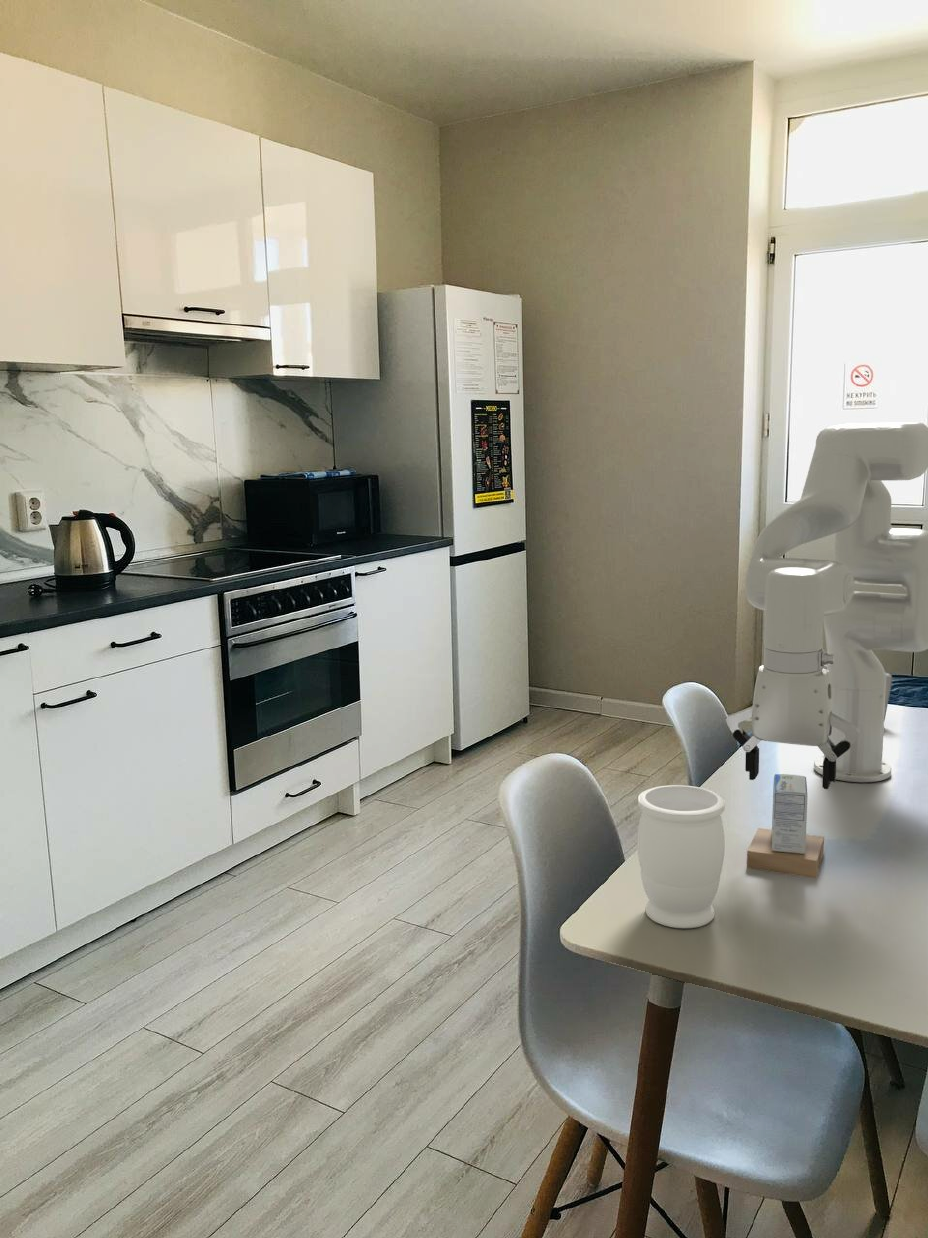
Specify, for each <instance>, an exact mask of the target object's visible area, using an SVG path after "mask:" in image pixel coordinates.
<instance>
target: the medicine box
mask: <svg viewBox="0 0 928 1238" xmlns="http://www.w3.org/2000/svg"><path fill="white" fill-rule="evenodd" d="M772 788H773V793H772V814H771V815H772V817H771V819H772V820H771V821H772V822H771V830H772V851H777V852H785V853H796V854H805V852H806V834H807V823H808V822H807V821H808V820H807V819H808V783H807V776H805V775H799V774H785V773H783V774H782V773H776V774H774V776H773V787H772Z"/></svg>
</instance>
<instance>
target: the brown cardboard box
mask: <svg viewBox="0 0 928 1238" xmlns="http://www.w3.org/2000/svg"><path fill="white" fill-rule="evenodd" d="M824 848H825V836H821V835H814V834H807V833H806V852H805V854H796V853H785V852H777V851H772V829H771V828H769V829H768V828H762V827H761V828H760V827H758V828H757V830H756V832H755V834H754V836H753V838H752V839H751V842H750V844H749V847H748V848H747V850H746V851H747V852H746V868H747V869H753V870H759V871H764V872H765V871H766V872H767V871H768V872H771V873H772V872H774V873H779V874H786V875H792V876H797V877H798V876H799V877H804V878H811V879H812V878H813V879H817V876H818V874H819V870H820V866H821V862H822V860H823V857H822V856H824V854H823V853H825V849H824Z"/></svg>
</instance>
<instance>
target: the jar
mask: <svg viewBox="0 0 928 1238" xmlns="http://www.w3.org/2000/svg"><path fill="white" fill-rule="evenodd" d="M637 799H638V801H637V803H638V804H637V805H638V808H639V809H640V811H641V814H640V818H639V823H638V828H637V829H638V830H637V831H638V832H637V856H638V862H639V867H640V874H641V875H640V876H641V881H642V886H643V889H644V892H645V894H646V896H647V898H648V900H647V903H646V905H645V913H646V915H647V917H649V919H650V920H652V921H653V922H655V923H657V924H659V925H662V926H665V927H670V928H675V929H693V928H699V927H702V926H706V925H707V924H709V923H710V922H712V920H713V919H714V917H715V908H714V906H713V905H712V903H713V901H714V900H715V898H716V895H717V892H718V890H719V886H720V880H721V874H722V870H723V865H724V858H725V845H726V844H725V830H724V825H723V820H722V819H723V818H722V817H721V815H722V814H723V812H725V808H726V801H725V798H724V796H722V795H721V794H719V793H717V792H716V791H713V790H711V789H709V788H708V789H707V788H703V787H699V786H694V785H693V786H692V785H685V784H684V785H683V784H682V785H681V784H674V785H672V784H669V785H661V786H653V787H651V788H648V789H646V790H644V791H642V792H641V793H639V794H638V797H637Z"/></svg>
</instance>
